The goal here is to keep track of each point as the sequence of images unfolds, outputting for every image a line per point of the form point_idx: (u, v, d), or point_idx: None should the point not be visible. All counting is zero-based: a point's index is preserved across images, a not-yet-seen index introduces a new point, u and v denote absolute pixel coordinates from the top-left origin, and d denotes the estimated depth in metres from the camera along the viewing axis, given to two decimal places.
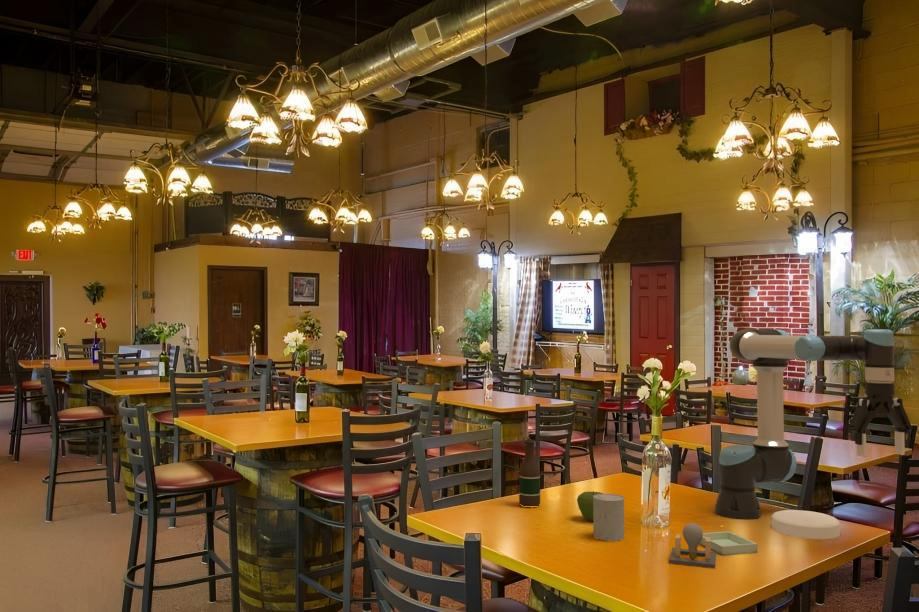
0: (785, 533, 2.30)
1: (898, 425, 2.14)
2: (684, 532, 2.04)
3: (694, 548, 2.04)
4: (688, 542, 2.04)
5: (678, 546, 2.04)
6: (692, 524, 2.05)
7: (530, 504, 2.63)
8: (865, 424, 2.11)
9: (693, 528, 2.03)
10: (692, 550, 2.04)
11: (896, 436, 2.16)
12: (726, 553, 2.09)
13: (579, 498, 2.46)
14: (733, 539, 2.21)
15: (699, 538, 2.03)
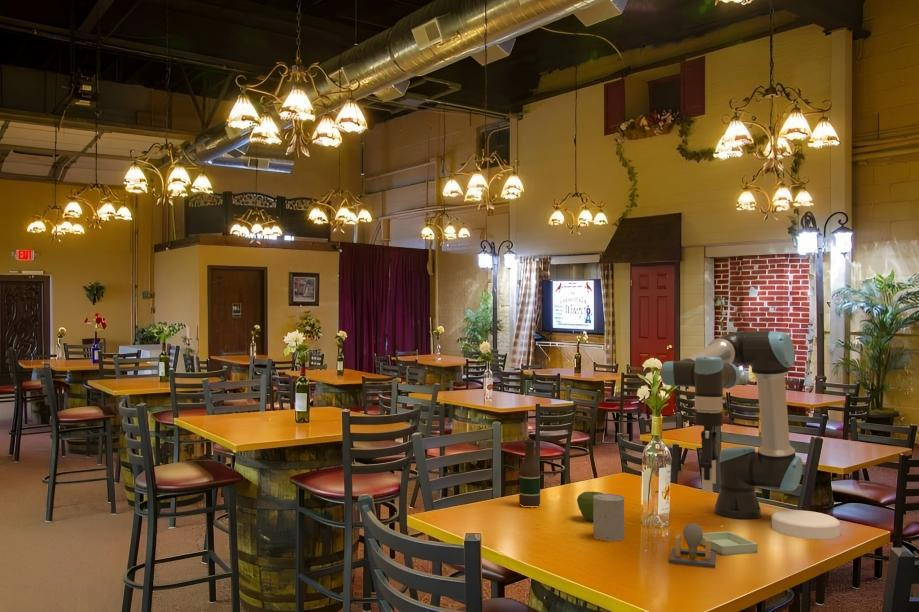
0: (785, 533, 2.30)
1: (712, 453, 2.11)
2: (684, 532, 2.04)
3: (694, 548, 2.04)
4: (688, 542, 2.04)
5: (678, 546, 2.04)
6: (692, 524, 2.05)
7: (530, 504, 2.63)
8: (711, 457, 2.00)
9: (693, 528, 2.03)
10: (692, 550, 2.04)
11: None
12: (726, 553, 2.09)
13: (579, 498, 2.46)
14: (733, 539, 2.21)
15: (699, 538, 2.03)
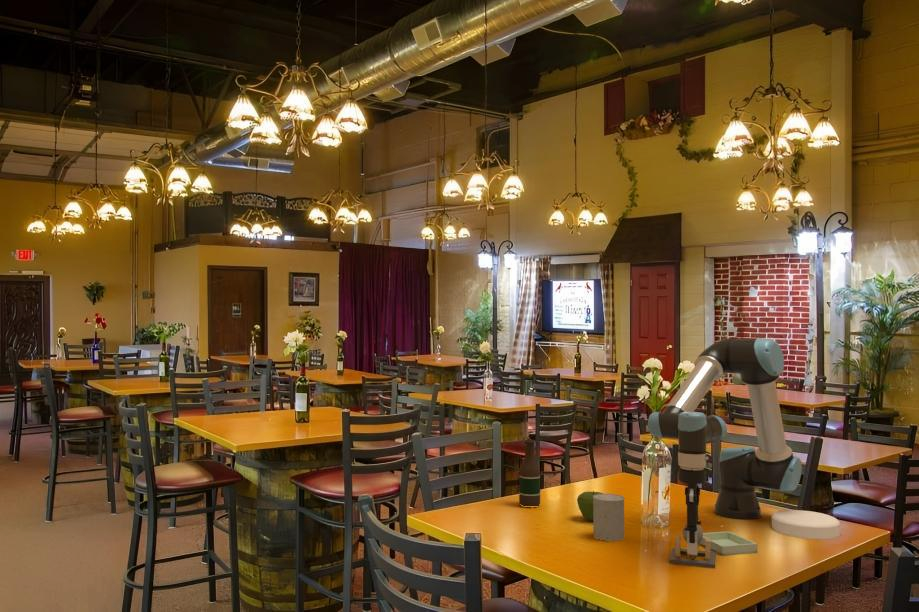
0: (785, 533, 2.30)
1: None
2: (684, 532, 2.04)
3: None
4: None
5: (678, 546, 2.04)
6: None
7: (530, 504, 2.63)
8: (696, 520, 2.02)
9: None
10: None
11: None
12: (726, 553, 2.09)
13: (579, 498, 2.46)
14: (733, 539, 2.21)
15: (699, 538, 2.03)
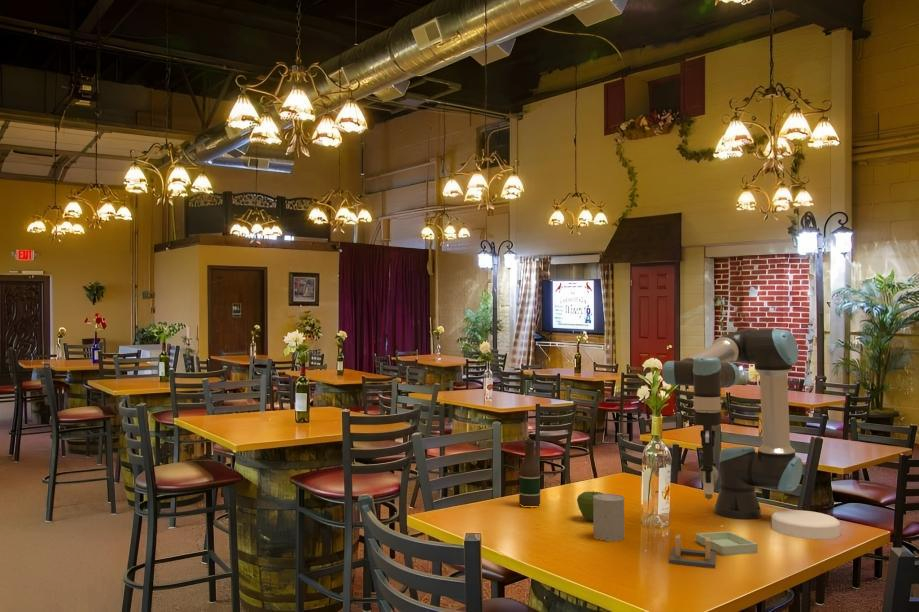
0: (785, 533, 2.30)
1: None
2: (700, 473, 2.11)
3: None
4: None
5: (678, 546, 2.04)
6: None
7: (530, 504, 2.63)
8: None
9: None
10: None
11: None
12: (726, 553, 2.09)
13: (579, 498, 2.46)
14: (733, 539, 2.21)
15: (714, 478, 2.09)
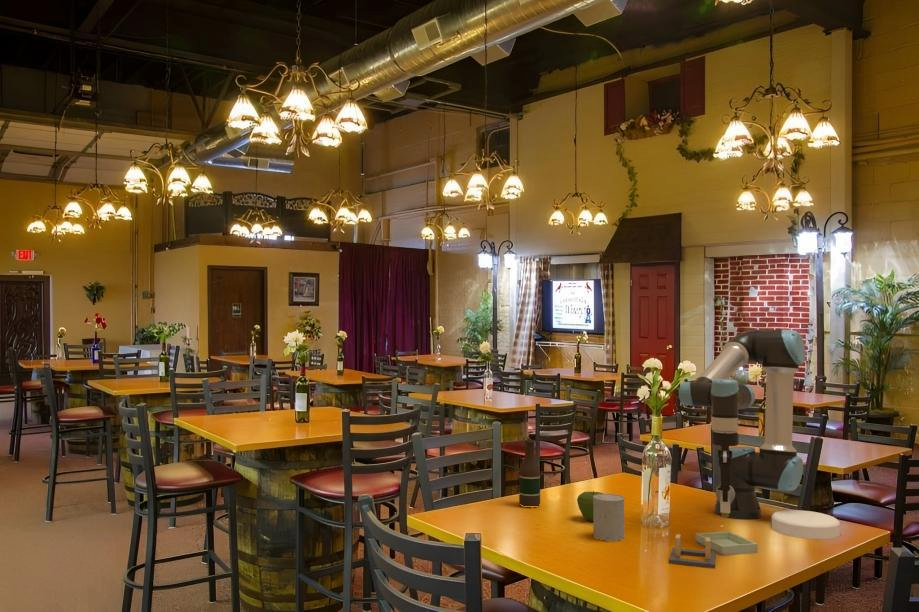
0: (785, 533, 2.30)
1: None
2: (717, 492, 2.16)
3: None
4: None
5: (678, 546, 2.04)
6: None
7: (530, 504, 2.63)
8: None
9: None
10: None
11: None
12: (726, 553, 2.09)
13: (579, 498, 2.46)
14: (733, 539, 2.21)
15: (731, 497, 2.15)
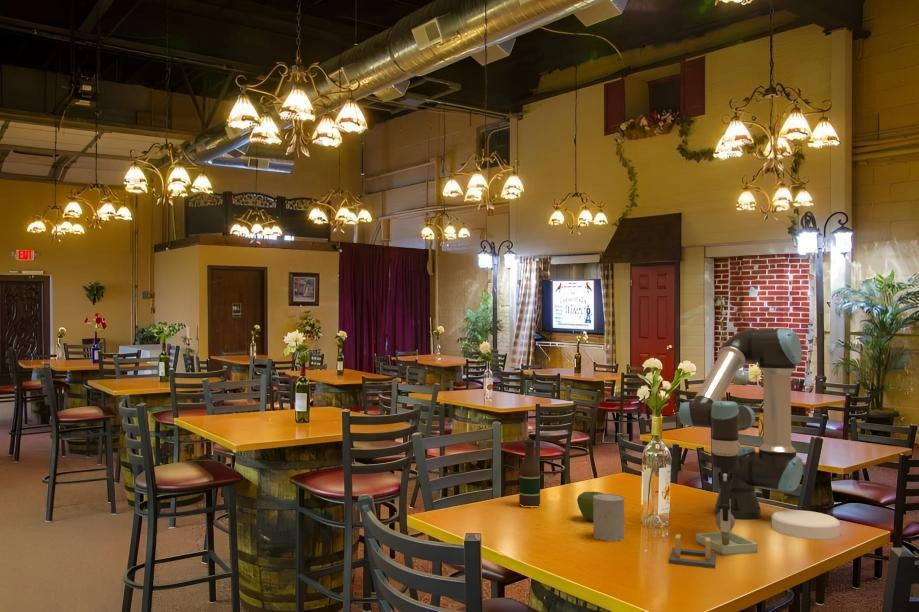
0: (785, 533, 2.30)
1: None
2: (717, 520, 2.16)
3: (727, 534, 2.16)
4: None
5: (678, 546, 2.04)
6: None
7: (530, 504, 2.63)
8: None
9: None
10: (725, 536, 2.16)
11: None
12: (726, 553, 2.09)
13: (579, 498, 2.46)
14: (733, 539, 2.21)
15: (731, 525, 2.14)
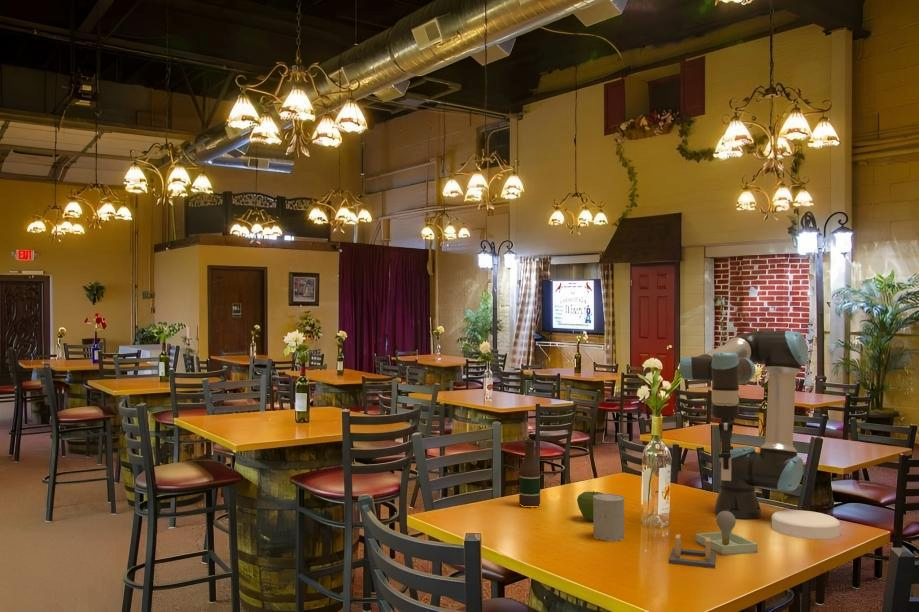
0: (785, 533, 2.30)
1: None
2: (718, 519, 2.17)
3: (727, 534, 2.16)
4: (722, 528, 2.16)
5: (678, 546, 2.04)
6: (725, 511, 2.17)
7: (530, 504, 2.63)
8: None
9: (727, 515, 2.15)
10: (725, 536, 2.16)
11: None
12: (726, 553, 2.09)
13: (579, 498, 2.46)
14: (733, 539, 2.21)
15: (732, 524, 2.15)
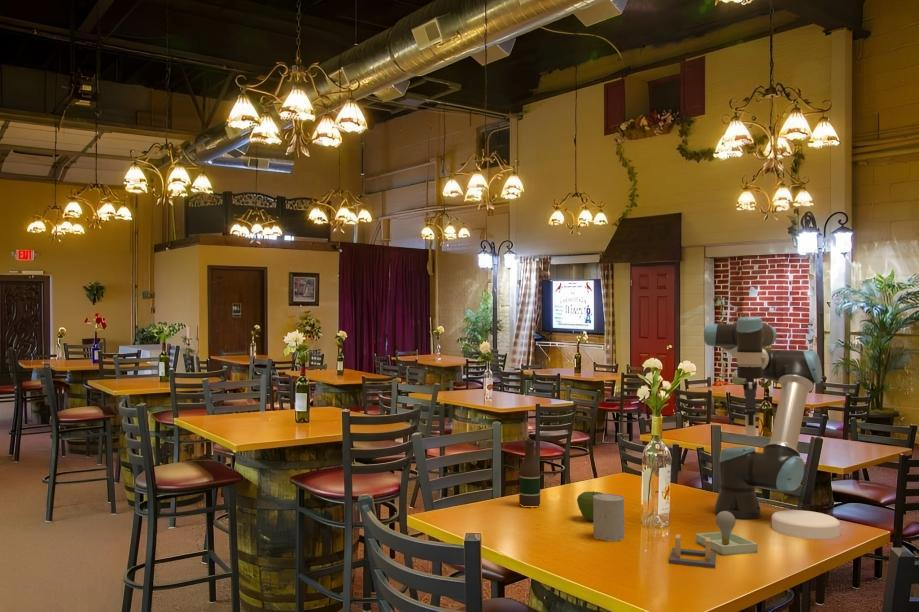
0: (785, 533, 2.30)
1: None
2: (717, 519, 2.16)
3: (727, 534, 2.16)
4: (721, 529, 2.16)
5: (678, 546, 2.04)
6: (725, 512, 2.17)
7: (530, 504, 2.63)
8: None
9: (726, 516, 2.15)
10: (725, 536, 2.16)
11: None
12: (726, 553, 2.09)
13: (579, 498, 2.46)
14: (733, 539, 2.21)
15: (732, 524, 2.15)
